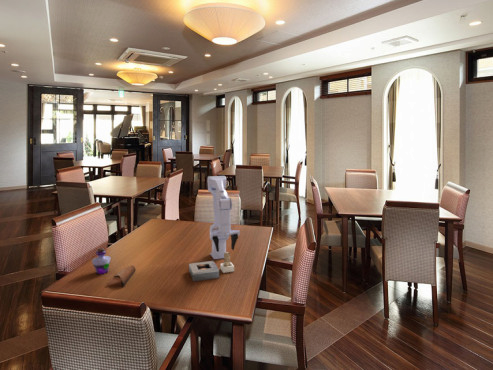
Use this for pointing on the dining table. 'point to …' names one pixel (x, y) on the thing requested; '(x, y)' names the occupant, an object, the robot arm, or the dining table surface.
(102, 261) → the potion bottle
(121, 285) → the sunglasses case
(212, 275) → the grey square frame block
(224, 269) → the holder
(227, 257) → the tan cylinder
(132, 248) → the dining table surface
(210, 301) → the dining table surface
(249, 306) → the dining table surface
